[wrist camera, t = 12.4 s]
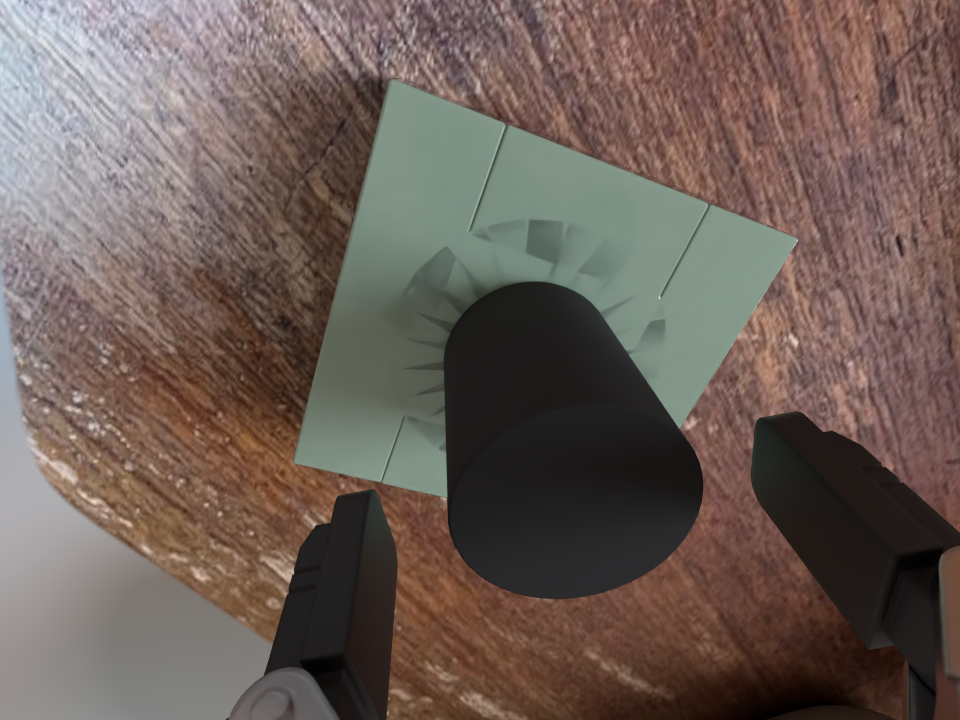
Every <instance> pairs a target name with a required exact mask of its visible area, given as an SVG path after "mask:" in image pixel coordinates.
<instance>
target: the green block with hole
mask: <svg viewBox="0 0 960 720" xmlns="http://www.w3.org/2000/svg"><path fill="white" fill-rule="evenodd" d="M797 241H798V239H797V238H796V237H794V236H792V235H789V234H787V233H785V232H783V231H781V230H779V229H776V228H774V227H772V226H770V225H768V224H766V223H763V222H761V221H759V220H757V219H755V218H752V217H750V216H748V215H746V214H743V213H741V212H738V211H736V210H733V209H731V208H728V207H726V206H723V205H721V204H718V203H716V202H713V201H711V200H708V199H705V198H703V197H700V196H698V195H695V194H693V193H690V192H688V191H685V190H683V189H680V188H678V187H675V186H673V185H670V184H667V183H665V182H662V181H660V180H657V179H655V178H652V177H650V176H647V175H645V174H642V173H640V172H637V171H635V170H632V169H630V168H627V167H624V166H622V165H619V164H617V163H614V162H612V161H609V160H607V159H604V158H602V157H599V156H597V155H594V154H592V153H589V152H587V151H584V150H581V149H579V148H576V147H574V146H571V145H569V144H566V143H564V142H561V141H559V140H556V139H554V138H551V137H549V136H546V135H544V134H541V133H539V132H536V131H533V130H531V129H528V128H526V127H523V126H521V125H518V124H516V123H513V122H511V121H508V120H506V119H503V118H501V117H496V116H494V115H493V114H490V113H488V112H485V111H483V110H480V109H478V108H475V107H473V106H470V105H468V104H465V103H463V102H460V101H458V100H455V99H452V98H450V97H447V96H445V95H442V94H440V93H437V92H435V91H432V90H430V89H427V88H425V87H422V86H420V85H417V84H415V83H412V82H410V81H407V80H404V79H402V78H395V79H390V80H389V82H388V86H387V89H386V93H385V97H384V101H383V105H382V109H381V113H380V117H379V121H378V125H377V129H376V133H375V137H374V141H373V145H372V149H371V153H370V157H369V161H368V164H367V168H366V172H365V176H364V180H363V184H362V188H361V192H360V196H359V200H358V204H357V208H356V212H355V216H354V220H353V224H352V228H351V232H350V236H349V239H348V243H347V247H346V251H345V255H344V259H343V263H342V267H341V271H340V275H339V279H338V283H337V287H336V291H335V295H334V299H333V303H332V307H331V311H330V315H329V318H328V322H327V326H326V330H325V334H324V338H323V342H322V346H321V350H320V354H319V358H318V362H317V366H316V370H315V374H314V378H313V382H312V386H311V390H310V393H309V397H308V401H307V405H306V409H305V413H304V417H303V421H302V425H301V429H300V433H299V437H298V441H297V445H296V449H295V453H294V457H293V463H295V464H299V465H303V466H308V467H312V468H317V469H321V470H326V471H330V472H335V473H339V474H344V475H348V476H353V477H357V478H362V479H366V480H371V481H375V482H380V481H381V480H382V481H381V482H382V484H387V485H391V486H396V487H400V488H405V489H409V490H413V491H418V492H422V493H427V494H431V495H436V496H440V497H445V498H447V468H446V431H445V394H444V353H445V347H446V344H447V340H448V337H449V335H450V333H451V331H452V329H453V327H454V325H455V324H456V322H457V321H458V319H459V318H460V317H461V316H462V314H463V313H464V312H465V311H466V310H467V309H468V308H469V307H470V306H471V305H472V304H473V303H475V302H476V301H478V300H479V299H480V298H482V297H483V296H485V295H487V294H489V293H490V292H492V291H494V290H497V289H499V288H502V287H504V286H508V285H512V284H516V283H523V282H547V283H553V284H557V285H561V286H564V287H567V288H569V289H572V290H574V291H576V292H577V293H579V294H581V295H582V296H584V297H585V298H586V299H588V300H589V301H590V302H591V303H592V304H593V305H594V306H595V307H596V308H597V309H598V310H599V312H600V313H601V315H602V316H603V318H604V319H605V321H606V322H607V324H608V325H609V327H610V328H611V329H612V331H613V332H614V334H615V335H616V337H617V338H618V340H619V341H620V343H621V344H622V346H623V347H624V349H625V350H626V351H627V353H628V354H629V356H630V357H631V359H632V360H633V362H634V363H635V365H636V366H637V368H638V369H639V370H640V372H641V373H642V375H643V376H644V378H645V379H646V381H647V382H648V384H649V385H650V387H651V388H652V390H653V391H654V392H655V394H656V395H657V397H658V398H659V400H660V401H661V403H662V404H663V406H664V407H665V409H666V410H667V411H668V413H669V414H670V416H671V417H672V419H673V420H674V422H675V423H676V425H677V426H678V428H679V429H680V427H681V426H682V424H683V422H684V421H685V419H686V418H687V416H688V414H689V413H690V411H691V410H692V408H693V406H694V405H695V403H696V402H697V400H698V399H699V397H700V395H701V394H702V392H703V391H704V389H705V387H706V386H707V384H708V383H709V381H710V379H711V378H712V376H713V375H714V373H715V372H716V370H717V368H718V367H719V365H720V364H721V362H722V360H723V359H724V357H725V356H726V354H727V352H728V351H729V349H730V348H731V346H732V345H733V343H734V341H735V340H736V338H737V337H738V335H739V333H740V332H741V330H742V329H743V327H744V325H745V324H746V322H747V321H748V319H749V318H750V316H751V314H752V313H753V311H754V310H755V308H756V306H757V305H758V303H759V302H760V300H761V298H762V297H763V295H764V294H765V292H766V291H767V289H768V287H769V286H770V284H771V283H772V281H773V279H774V278H775V276H776V275H777V273H778V271H779V270H780V268H781V267H782V265H783V264H784V262H785V260H786V259H787V257H788V256H789V254H790V252H791V251H792V249H793V248H794V246H795V244H796V243H797Z"/></svg>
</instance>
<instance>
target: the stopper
mask: <svg viewBox="0 0 960 720" xmlns="http://www.w3.org/2000/svg"><path fill="white" fill-rule="evenodd" d="M444 394H445V431H446V468H447V505H448V525H449V530H450V535H451V537H452V540H453V543H454V545H455V547H456V549H457V550H458V552H459V554H460V556H461V557H462V558H463V560H464V561H465V562H466V563H467V564H468V566H469V567H470V568H471V569H472V570H474V571H475V572H476V573H477V574H478V575H479V576H481V577H482V578H484V579H485V580H487V581H488V582H490V583H492V584H494V585H496V586H498V587H500V588H502V589H505V590H507V591H510V592H513V593H516V594H520V595H524V596H529V597H536V598H545V599H567V598H578V597H585V596H590V595H595V594H599V593H603V592H606V591H609V590H612V589H615V588H618V587H620V586H623V585H625V584H628V583H630V582H632V581H634V580H636V579H638V578H639V577H641V576H643V575H645V574H646V573H648V572H649V571H651V570H653V569H654V568H656V567H657V566H658V565H659V564H661V563H662V562H663V561H664V560H666V559H667V558H668V557H669V556H670V555H671V554H672V553H673V552H674V551H675V550H676V549H677V548H678V547H679V545H680V544H681V543H682V542H683V540H684V539H685V538H686V536H687V535H688V533H689V532H690V530H691V528H692V527H693V525H694V523H695V520H696V518H697V516H698V513H699V510H700V506H701V503H702V496H703V476H702V471H701V467H700V463H699V460H698V458H697V456H696V454H695V451H694V450H693V448H692V447H691V445H690V444H689V442H688V441H687V439H686V438H685V436H684V435H683V433H682V432H681V431H680V429H679V428H678V426H677V425H676V423H675V422H674V420H673V419H672V417H671V416H670V414H669V413H668V411H667V410H666V409H665V407H664V406H663V404H662V403H661V401H660V400H659V398H658V397H657V395H656V394H655V392H654V391H653V390H652V388H651V387H650V385H649V384H648V382H647V381H646V379H645V378H644V376H643V375H642V373H641V372H640V370H639V369H638V368H637V366H636V365H635V363H634V362H633V360H632V359H631V357H630V356H629V354H628V353H627V351H626V350H625V349H624V347H623V346H622V344H621V343H620V341H619V340H618V338H617V337H616V335H615V334H614V332H613V331H612V329H611V328H610V327H609V325H608V324H607V322H606V321H605V319H604V318H603V316H602V315H601V313H600V312H599V310H598V309H597V308H596V307H595V306H594V305H593V304H592V303H591V302H590V301H589V300H588V299H586V298H585V297H584V296H582V295H581V294H579V293H577V292H576V291H574V290H572V289H569V288H567V287H564V286H561V285H557V284H553V283H547V282H523V283H516V284H512V285H508V286H504V287H502V288H499V289H497V290H494V291H492V292H490V293H489V294H487V295H485V296H483V297H482V298H480V299H479V300H478V301H476V302H475V303H473V304H472V305H471V306H470V307H469V308H468V309H467V310H466V311H465V312H464V313H463V314H462V316H461V317H460V318H459V319H458V321H457V322H456V324H455V325H454V327H453V329H452V331H451V333H450V335H449V337H448V340H447V344H446V347H445V353H444Z"/></svg>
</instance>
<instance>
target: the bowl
mask: <svg viewBox="0 0 960 720" xmlns="http://www.w3.org/2000/svg"><path fill="white" fill-rule="evenodd" d="M767 720H895V719H893V718H891V717H889V716H887V715H884V714H881V713H878V712H875V711H872V710H869V709H864V708H858V707H852V706H845V705H822V706H815V707H810V708H805V709H800V710H795V711H792V712H789V713H786V714H782V715H779V716H776V717H773V718H770V719H767Z"/></svg>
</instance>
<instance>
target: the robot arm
mask: <svg viewBox="0 0 960 720" xmlns="http://www.w3.org/2000/svg"><path fill="white" fill-rule="evenodd" d="M751 482H752V487H753V490H754V493H755V495H756V498H757V500H758V501H759V503H760V505H761V506H762V508H763V509H764V510H765V512H766V513H767V514H768V516H769V517H770V518H771V520H772V521H773V522H774V524H775V525H776V526H777V528H778V529H779V530H780V532H781V533H782V534H783V536H784V537H785V538H786V540H787V541H788V542H789V544H790V545H791V546H792V548H793V549H794V551H795V552H796V553H797V555H798V556H799V557H800V559H801V560H802V561H803V563H804V564H805V565H806V567H807V568H808V569H809V571H810V572H811V573H812V575H813V576H814V577H815V579H816V580H817V581H818V583H819V584H820V585H821V587H822V588H823V589H824V591H825V592H826V593H827V595H828V596H829V598H830V599H831V600H832V602H833V603H834V604H835V606H836V607H837V608H838V610H839V611H840V612H841V614H842V615H843V616H844V618H845V619H846V620H847V622H848V623H849V624H850V626H851V627H852V628H853V630H854V631H855V632H856V634H857V635H858V636H859V638H860V639H861V640H862V642H863V643H864V645H865V646H866V647H867V649H868V650H871V649H877V648H882V647H888V646H894V645H895V646H896V647H897V649H898V650H899V651H900V652H901V654H902V655H903V656H904V657H905V661H904V664H903V670H902V720H960V532H958V531H957V530H956V529H955V528H954V527H953V526H952V525H951V524H949V523H948V522H947V521H946V520H945V519H944V518H943V517H942V516H940V515H939V514H938V513H937V512H936V511H935V510H934V509H933V508H931V507H930V506H929V505H928V504H927V503H926V502H925V501H923V500H922V499H921V498H920V497H919V496H918V495H917V494H916V493H914V492H913V491H912V490H911V489H910V488H909V487H908V486H907V485H905V484H904V483H900V482H899V478H898V477H896V476H895V475H894V474H893V473H892V472H891V471H890V470H888V469H887V468H886V467H882V465H881V462H879V461H878V460H877V459H876V458H875V457H874V456H873V455H872V454H870V453H869V452H868V451H867V450H866V449H865V448H864V447H863V446H861V445H860V444H858V443H856V442H854V441H852V440H850V439H848V438H846V437H844V436H842V435H840V434H838V433H836V432H834V431H828V432H822V431H821V430H820V429H819V428H818V427H817V426H816V425H815V424H814V423H813V422H812V421H811V420H810V419H809V418H808V417H807V416H805V415H804V414H803V413H801V412H798V411H795V412H789V413H784V414H779V415H773V416H768V417H762V418H759V419H758V420H757V422H756V425H755V433H754V444H753V455H752V467H751ZM396 583H397V553H396V547H395V543H394V539H393V536H392V533H391V531H390V528H389V525H388V522H387V519H386V517H385V514H384V511H383V508H382V505H381V503H380V500H379V497H378V495H377V493H376V491H375V490H374V489H371V490H366V491H360V492H355V493H350V494H344V495H339V496H338V497H337V499H336V502H335V506H334V510H333V514H332V519H331V523H327V524H321V525H316V526H315V527H314V529H313V530H312V532H311V533H310V534H309V536H308V537H307V539H306V540H305V541H304V543H303V544H302V546H301V547H300V550H299V554H298V557H297V561H296V564H295V568H294V575H292V579H291V582H290V586H289V594H287V596H286V600H285V604H284V607H283V611H282V614H281V618H280V621H279V625H278V629H277V632H276V636H275V639H274V643H273V646H272V650H271V654H270V657H269V661H268V664H267V668H266V670H265V673H264V676H263V677H261V678H260V679H259V680H257V681H256V682H255V683H254V684H252V685H251V686H250V687H249V688H248V689H247V690H246V692H244V694H243V695H242V696H241V697H240V699H239V700H238V702H237V703H236V705H235V706H234V708H233V710H232V712H231V714H230V717H229V718H227V719H226V720H386V717H387V704H388V690H389V677H390V663H391V650H392V636H393V623H394V610H395V596H396Z"/></svg>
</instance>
